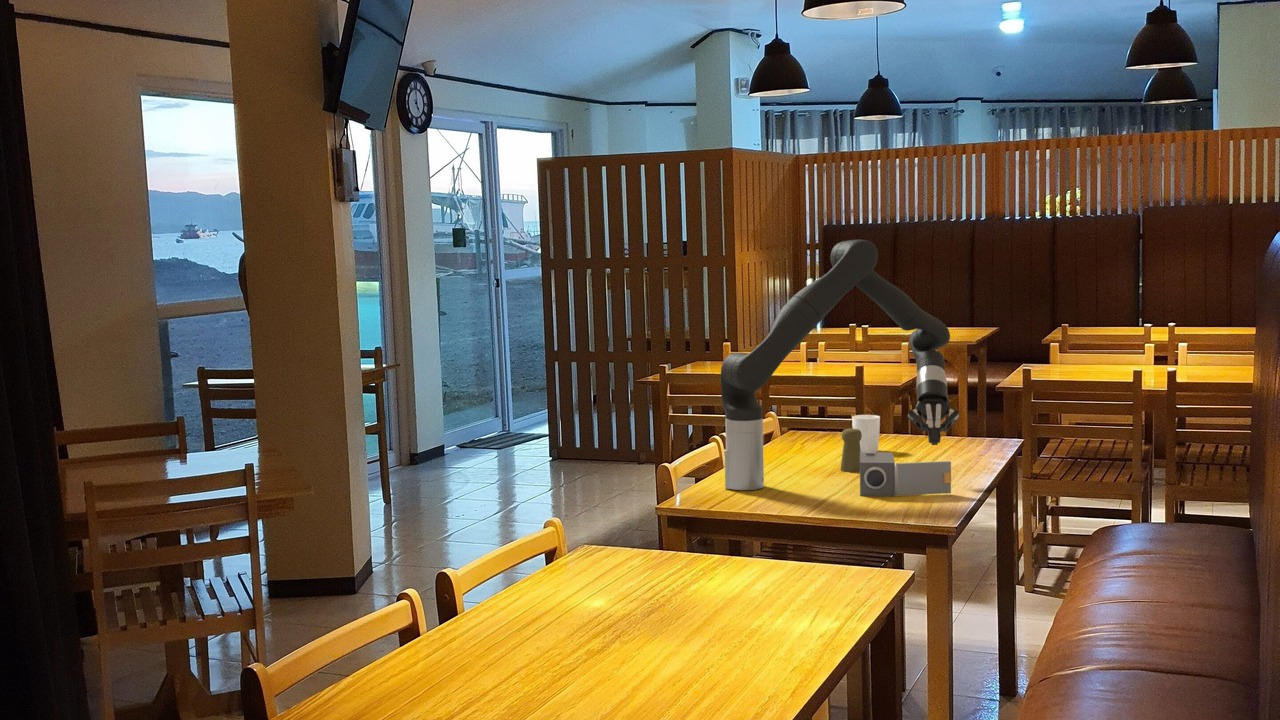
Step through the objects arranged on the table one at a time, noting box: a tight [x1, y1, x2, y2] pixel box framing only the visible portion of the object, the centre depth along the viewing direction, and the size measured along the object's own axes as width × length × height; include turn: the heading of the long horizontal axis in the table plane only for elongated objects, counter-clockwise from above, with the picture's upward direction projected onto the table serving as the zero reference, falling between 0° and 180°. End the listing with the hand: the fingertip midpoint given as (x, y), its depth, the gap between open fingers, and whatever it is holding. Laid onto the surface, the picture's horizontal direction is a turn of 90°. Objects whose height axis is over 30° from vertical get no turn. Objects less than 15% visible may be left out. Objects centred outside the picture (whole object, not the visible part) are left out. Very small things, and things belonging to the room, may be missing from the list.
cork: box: [839, 427, 862, 473], centre depth 312 cm, size 6×6×11 cm
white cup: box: [851, 414, 881, 452], centre depth 340 cm, size 8×8×10 cm
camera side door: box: [895, 460, 952, 496], centre depth 279 cm, size 2×14×8 cm, turn 96°
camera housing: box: [859, 451, 896, 497], centre depth 286 cm, size 8×15×9 cm, turn 170°
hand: (934, 443), depth 291 cm, fingers closed
